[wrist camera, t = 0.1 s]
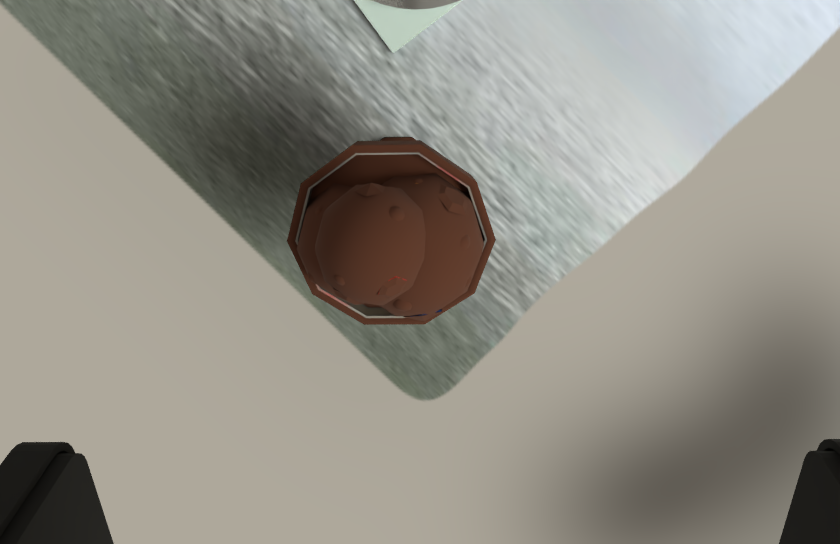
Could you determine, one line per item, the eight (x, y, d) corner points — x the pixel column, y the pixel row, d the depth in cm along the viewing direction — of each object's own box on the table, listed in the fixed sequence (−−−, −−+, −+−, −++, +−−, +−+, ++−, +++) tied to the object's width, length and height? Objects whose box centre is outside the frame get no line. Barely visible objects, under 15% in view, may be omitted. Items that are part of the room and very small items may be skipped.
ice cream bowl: (301, 228, 49) (250, 357, 35) (340, 69, 43) (298, 150, 30) (450, 270, 50) (454, 410, 37) (505, 120, 45) (534, 219, 32)
